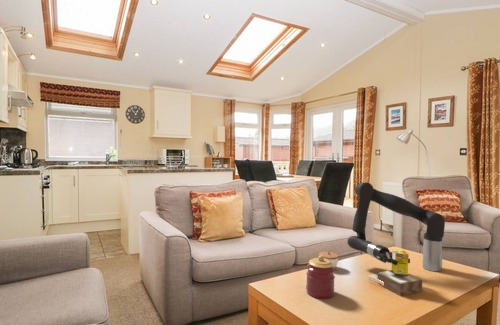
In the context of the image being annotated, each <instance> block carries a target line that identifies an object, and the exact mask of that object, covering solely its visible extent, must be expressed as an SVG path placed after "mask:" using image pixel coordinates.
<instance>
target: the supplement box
mask: <svg viewBox="0 0 500 325" xmlns="http://www.w3.org/2000/svg"><path fill="white" fill-rule="evenodd" d="M391 252H392V259H394V260H397V265H394V264H392V263H391V270H392V272H393V273H394V274H395V275H400V276H408V274H409V273H408V272H409V271H408V270H409V263H408V258H409V253H408V252H407V251H406V250H404V249H403V250H402V249H392V251H391Z"/></svg>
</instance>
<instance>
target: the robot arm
mask: <svg viewBox="0 0 500 325" xmlns="http://www.w3.org/2000/svg"><path fill="white" fill-rule="evenodd" d="M354 192H355V194H356V195H357V196H358V203H357V208H356V211H355V214H354V217H353V224H352V231H353V232H354V233H356V236H355V235H352V236H351V235H350V236H349V237H348V239H347V242H346V243H347V245H348V247H350V248H351V249H354V250H355V251H358V252H359V251H360V252H363V253H365V254H367V255H369V256H371V257H372V258H375V259H376V260H378V261H380V262H382V263H384V264H385V263H386V264H387V263H388V264H391V265H392V264H394V265H397V260H394V259H392V251H390V250H389V248H388V247H387V246H384V245H381V244H379V243H375V242H373V241H370V240H367V236H366V227H367V219H368V213H369V208H370V204H371V202H374V203H377V204H378V205H380V206H381V207H384V208H385V209H388V210H390V211H392V212H395V213H397V214H399V215H402V216H406V217H409V218H412V219H415V220H417V221H419V222H420V223H423V224H424V225H426V231H425V232H424V234H423V242H422V244H423V247H422V268H423V269H425V270H427V271H431V272H441V270H443V253H442V252H443V251H442V250H443V249H442V248H443V237H444V235H445V227H446V226H445V224H446V223H445V217H444V216H443V215H442V214H440V213H438V212H436V211H432V210H430V209H429V210H428V209H425V208H424V207H423V208H422V207H420V206H418V205H415V204H414V203H412V202H410V201H409V200H407V199H405V198H402V197H401V196H397V195H395V194H392V193H388V192H383V191H380V190H378V189H376V188H375V187H374V186H373V185H372V183H369V182H367V181H366V182H364V181H363V182H361V183H358V184H357V185H356V186H355V188H354ZM410 263H411V259H410V258H409V257H408V264H410Z"/></svg>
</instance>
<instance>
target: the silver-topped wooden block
mask: <svg viewBox="0 0 500 325" xmlns="http://www.w3.org/2000/svg"><path fill="white" fill-rule="evenodd" d="M377 279H379V280H381V281H383V282H384V286H382V287H383V288H384V289H387V290H388V291H390V292H392V293H394V294H396V296H400V297H402V296H406V295H407V296H408V295H413V294H418V293H421V292H422V293H423V280H422V278H419V277H416V276H414V275H412V274H409V273H408V276H400V275H395V274H394V273H393V272H392V269H391V270H385V271H379V272H378V273H377Z"/></svg>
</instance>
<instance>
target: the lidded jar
mask: <svg viewBox="0 0 500 325" xmlns="http://www.w3.org/2000/svg"><path fill="white" fill-rule="evenodd" d="M320 255H321V256H323V257H324V258H326V259H328V260H330V261H331V262H332V263H333V267H334V268H336V267H337V265H338V262H339V255H338V254H337V253H336V252H332V251H320V252H319V254H318V257H319V256H320Z"/></svg>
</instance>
